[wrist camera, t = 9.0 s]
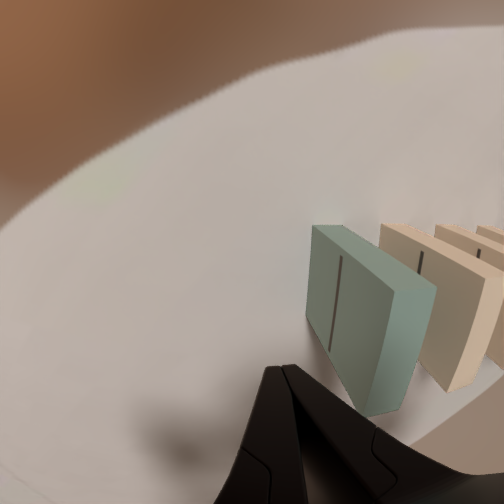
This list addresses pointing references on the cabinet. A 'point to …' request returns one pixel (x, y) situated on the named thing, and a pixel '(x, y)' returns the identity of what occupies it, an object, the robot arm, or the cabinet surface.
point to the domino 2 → (450, 302)
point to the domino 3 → (500, 256)
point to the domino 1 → (367, 316)
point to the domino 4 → (491, 233)
